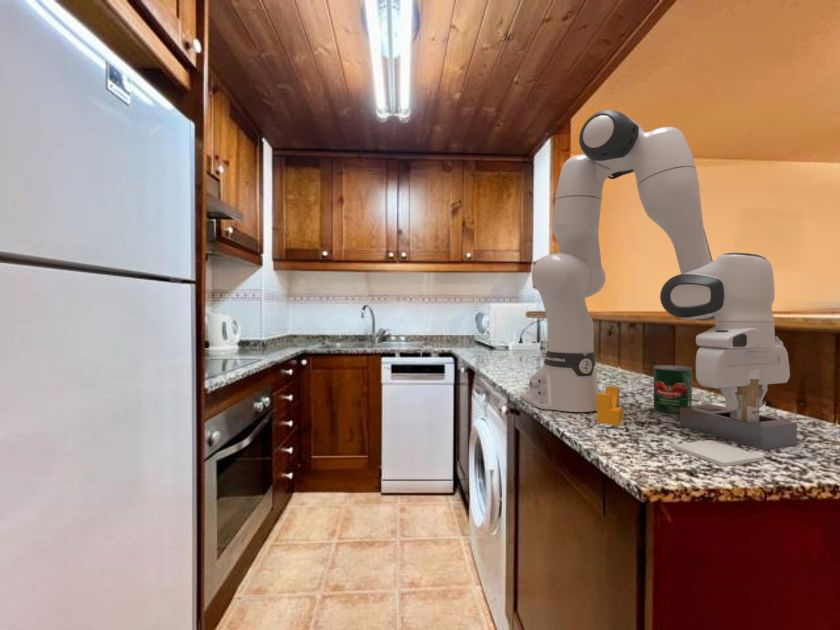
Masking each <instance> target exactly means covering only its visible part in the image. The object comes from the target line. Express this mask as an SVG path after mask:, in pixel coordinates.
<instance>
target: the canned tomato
mask: <svg viewBox="0 0 840 630" xmlns="http://www.w3.org/2000/svg"><path fill="white" fill-rule="evenodd" d="M692 371H693V368H692V367H690V366H684V365H673V364H671V365H670V364H661V365H660V364H657V365H653V412H654V413H655V414H659V415H662V414H663V416H668V415H669V417H677V416H680V407H683V406H693V402H692V401H693V385H692V384H693V372H692Z"/></svg>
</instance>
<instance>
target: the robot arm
mask: <svg viewBox="0 0 840 630" xmlns="http://www.w3.org/2000/svg"><path fill="white" fill-rule="evenodd" d="M578 137H579V139H578V143H579V146H580V149H581V151H582V152H583V153H582V154H577V155H573V156H571V157H570V158H568V159H567V160H566V161H564V163H563V164H562V167H561V170H560V172H559V173H560V174H559V177H558V181H557V185H556V190H555V191H556V192H555V199H554V210H553V218H552V227H551V228H552V234H553V235H554V238H555V240H556V244H557V250H558V252H557V253H552V254H550V253H549V254H548V255H544V256H542V257H540V258H538V260H537V261H536V262H535V263H534V265H533V267H532V270H531V281H532V284H533V286H534V287H535V289H536V291H538V293H539V295H540V297H541V298H540V299H541V301H542V305H543V307H544V311H545V317H546V322H547V323H546V324H547V351H546V352H542V358H544V360H543V365H542V366H541V367H540V368H539V369H538V370H537V371H536V372H535V373H534V374H533V375H531V376H530V377H529V383H528V391H527V392H523V393H520V396H519V398H521V399H522V400H524V401H525V402H527V403H529V404H530V405H532V406H534V407H536V408H537V407H538V408H537V409H539V408H540V410H550V411H551V410H553V411H560V412H561V411H562V412H570V413H571V412H573V413H589V412H590V413H591V412H597V394H598V393H600V391H599V389H600V388H599V381H598V374H597V372H596V371H595V367H596V366H597V364H596V361H597V357H596V352H595V351H594V349H595V348H594V347H595V346H594V321H593V319H592V317H591V315H590V313H589V310H588V306H587V302H586V298H590V297H591V296H594V295H597V293H599V292H601V290H602V289H603V287H604V285H605V283H606V273H605V270H604V268H603V265H602V258H601V250H600V249H601V247H600V239H599V238H600V237H599V236H600V234H599V232H600V231H599V230H600V219H601V209H602V198H603V189H604V185H605V181H606V180H607V179H610V180H615V179H618V178H620V177H622V176H625V175H628V174H631V173H634V176H635V181H636V186H637V191H638V196H639V199H640V203H641V205H642V207H643V209H644V211H645V213H646V215H647V217H648V218H649V219H650V220H651V221H653V222H654V223H655V224H656V225H657V226H659V227H660V228H661V229H662V230H663V232H665V233H666V235H667V236H668V238H669V239H670V241H671V243H672V246H673V249H674V253H675V256H676V260H677V264H678V267H679V271H680V273H679V274H677V275H674V276H672V277H671V278H669V279H668V280H667V281H665V283H664V284H663V285H662V287H661V290H660V295H659V297H660V298H659V299H660V304H661V305H662V308H663V309H664V310H665V312H666V313H668V314H670V315H671V316H673V317H676V318H679V319H682V320H692V321H693V320H695V321H701V322H709V321H713V320H715V326H713V327H711V328H709V329H708V330H706V331H704V332H701V333H699V334H697V335H696V336H695V343H696V346H698V347H699V348H698V349H697V351H696V354H695V355H696V356H695V379H696V381H697V382H698V384H699V385H700V386H701V387H704V388H705V387H706V388H711V389H720V393H721V395H722V397H724V400H725V407H726V408H727V409H729V410H740V409H741V406H740V405H741V401H739V400H737V397H736V395H735V392H737V387H740V386H748V385H749V384H750V383H751V382H750V381H751V380H750V379H749V370H752V369H759V370H760V379H758V380H759V382H758V383H759V384H758V390H759V409H761V408H763V407H764V406H763V405H764V403H763V402H764V401H763V400H764V398H765V396H766V394H767V392H768V385H774V384H786V383H788V381H789V379H790V376H791V372H790V371H791V370H790V362H789V361H790V360H789V354H788V351H787V348H786V347H785V346H784V342H783V341H782V340H781V339H780V338H779V336H777V335H776V333H775V332H776V331H775V317H774V315H773V309H772V308H773V304H774V302H775V277H774V272H773V271H774V270H773V266H772V264H771V262H770V261H769V260H768V259H767V258H766V257H765V256H762V255H759V254H756V253H755V254H754V253H748V252H727V253H723V254H721V255H718V257H717V258H715V259H714V260H713V257H712V254H711V249H710V246H709V242H708V238H707V235H706V232H705V227H704V220H703V219H704V218H703V211H702V202H701V189H700V182H699V176H698V171H697V166H696V162H695V159H694V156H693V154H692V151H691V149H690V146H689V144H688V140H687V139H686V137H685V135H684V133H683V132H682V131H681V130H680V129H678V128H676V127H673V126H663V127H658V128H655V129H653V130H650V131H645V130H644V129H643V127H641V125H640V124H639V123H638V122H636V121H635V120H633V119H630V118H629V117H628V116H627V115H626V114H624V113H622V112H621V111H617V110H612V109H603V110H600V111H598V112H596V113H593V114H592V115H591V116H590V117H589V118H587V119H586V121H585V122H584V124H583V125H582V127H581V129H580V132H579V136H578Z"/></svg>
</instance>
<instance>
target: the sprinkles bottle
mask: <svg viewBox="0 0 840 630" xmlns="http://www.w3.org/2000/svg"><path fill="white" fill-rule="evenodd" d="M749 379H750V380H751V381H750V382H751V383H750V384H749V385H748V386H740V387H737V392H735V395H736V397H737V400H739V401H741V405H740V406H741V409H740V410H730V418H732V419H737V420H741V421H745V422H749V423H755V422H759V415H760V408H759V390H758V384H759V383H758V382H759V380H758V379H760V370H759V369H752V370H749Z"/></svg>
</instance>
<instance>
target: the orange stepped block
mask: <svg viewBox="0 0 840 630" xmlns="http://www.w3.org/2000/svg"><path fill="white" fill-rule="evenodd" d="M622 421H624V408H622V407H620V387H619V386H615V385H614V386H613V385H606V386H605V392H599V393H598V394H597V411H596V423H598V424H599V423H600V424H605V423H606V425H614V426H619V425H620V424H621V423H623V422H622Z"/></svg>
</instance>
